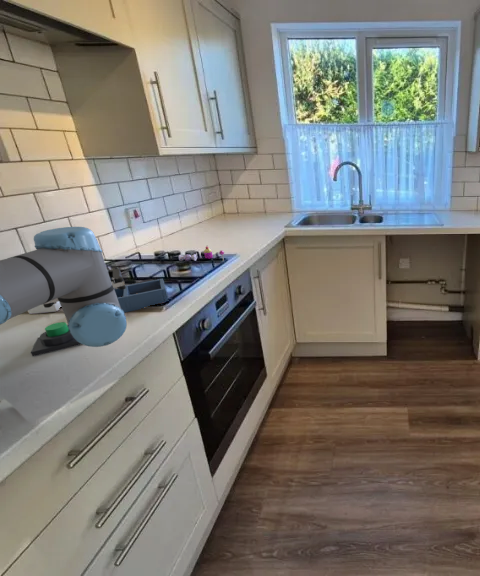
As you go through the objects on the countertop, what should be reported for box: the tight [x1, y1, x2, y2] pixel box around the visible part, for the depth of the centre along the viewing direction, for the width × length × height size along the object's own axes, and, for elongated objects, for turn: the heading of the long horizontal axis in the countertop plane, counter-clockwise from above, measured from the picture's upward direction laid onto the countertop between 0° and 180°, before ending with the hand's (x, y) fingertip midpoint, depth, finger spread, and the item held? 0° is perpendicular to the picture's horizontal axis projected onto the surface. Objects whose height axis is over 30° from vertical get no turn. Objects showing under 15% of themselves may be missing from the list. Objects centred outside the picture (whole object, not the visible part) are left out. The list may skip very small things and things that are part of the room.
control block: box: [30, 324, 82, 357], centre depth 88 cm, size 10×8×3 cm
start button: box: [44, 321, 69, 337], centre depth 87 cm, size 4×4×2 cm
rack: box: [114, 278, 170, 314], centre depth 107 cm, size 20×10×5 cm, turn 123°
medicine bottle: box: [27, 302, 61, 315], centre depth 105 cm, size 7×7×12 cm
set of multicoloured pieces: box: [178, 246, 225, 262], centre depth 145 cm, size 18×8×6 cm, turn 98°
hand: (77, 272), depth 85 cm, fingers closed on can, 7 cm apart
